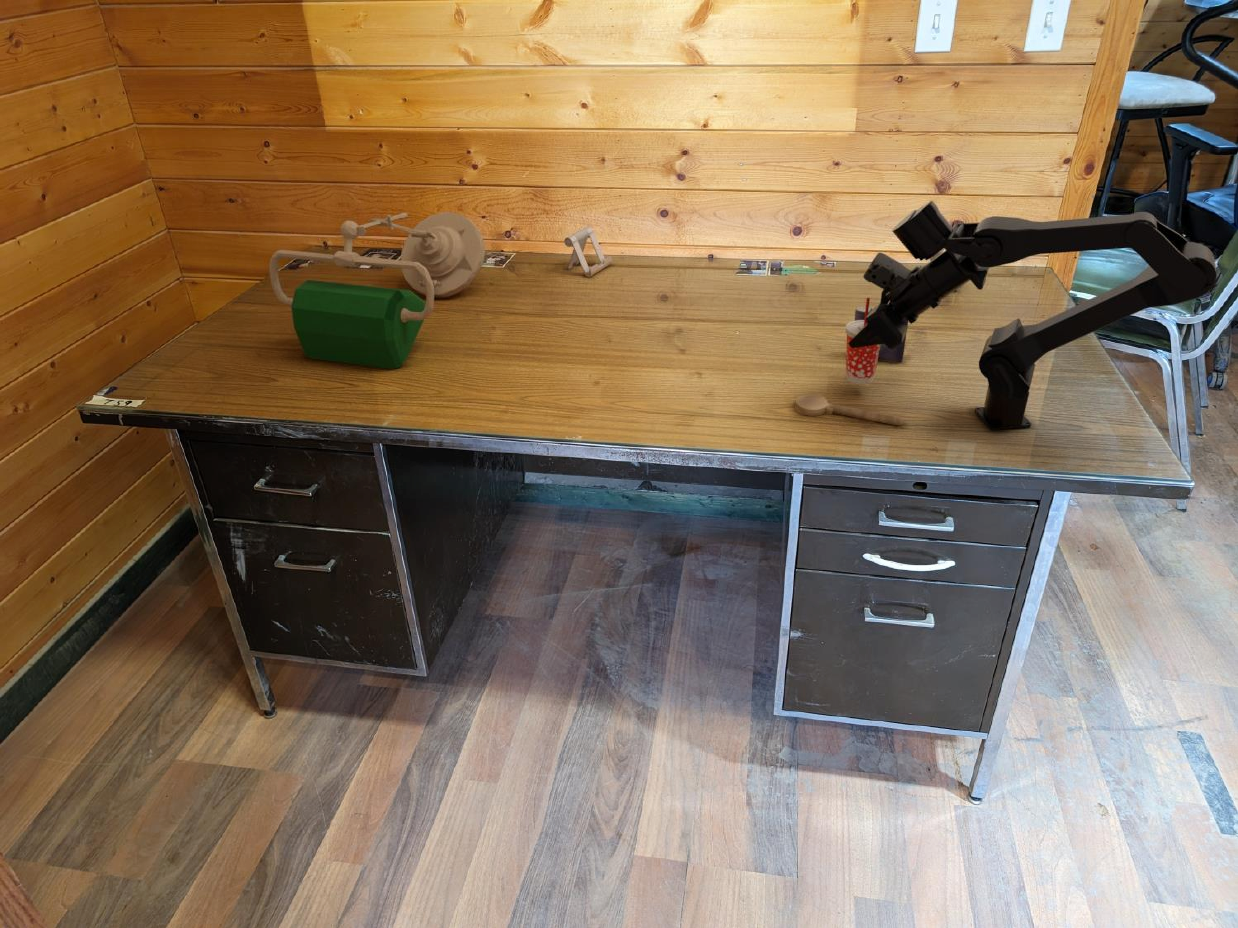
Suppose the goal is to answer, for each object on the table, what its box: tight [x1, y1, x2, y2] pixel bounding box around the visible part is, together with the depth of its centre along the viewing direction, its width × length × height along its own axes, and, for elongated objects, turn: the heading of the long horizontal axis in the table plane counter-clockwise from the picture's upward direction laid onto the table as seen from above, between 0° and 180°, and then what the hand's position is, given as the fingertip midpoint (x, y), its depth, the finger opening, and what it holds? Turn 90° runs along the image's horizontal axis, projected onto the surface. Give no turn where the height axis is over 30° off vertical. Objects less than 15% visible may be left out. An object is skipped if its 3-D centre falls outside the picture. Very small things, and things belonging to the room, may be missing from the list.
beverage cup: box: [845, 297, 880, 385], centre depth 145 cm, size 6×6×14 cm
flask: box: [854, 302, 909, 364], centre depth 158 cm, size 9×3×11 cm, turn 65°
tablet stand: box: [563, 225, 613, 278], centre depth 201 cm, size 9×8×8 cm
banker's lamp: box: [269, 211, 486, 370], centre depth 178 cm, size 35×42×39 cm
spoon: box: [794, 393, 904, 426], centre depth 144 cm, size 17×5×1 cm, turn 64°
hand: (855, 337), depth 146 cm, fingers closed on beverage cup, 6 cm apart
